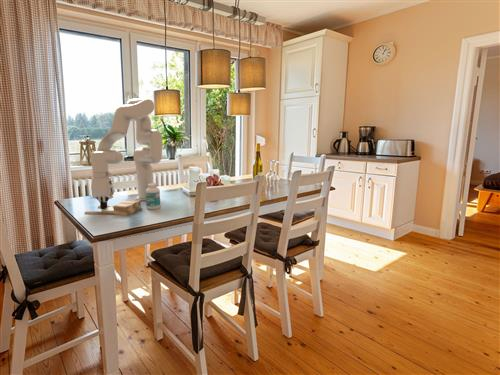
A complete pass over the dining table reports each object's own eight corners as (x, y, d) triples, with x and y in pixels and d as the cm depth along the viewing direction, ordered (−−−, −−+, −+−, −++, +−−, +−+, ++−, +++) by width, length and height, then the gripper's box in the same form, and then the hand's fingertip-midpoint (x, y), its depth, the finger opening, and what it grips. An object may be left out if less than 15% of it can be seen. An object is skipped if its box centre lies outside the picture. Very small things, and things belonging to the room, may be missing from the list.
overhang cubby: (100, 207, 172) (99, 199, 171) (141, 208, 170) (140, 200, 169) (84, 214, 158) (83, 205, 157) (128, 215, 156) (128, 206, 155)
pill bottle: (143, 209, 167) (141, 184, 165) (152, 205, 174) (151, 182, 171) (154, 210, 165) (153, 185, 162) (163, 207, 171) (162, 183, 169)
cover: (110, 209, 168) (110, 206, 168) (137, 210, 167) (136, 206, 167) (101, 214, 160) (101, 210, 159) (129, 215, 158) (128, 211, 158)
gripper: (118, 174, 163) (121, 207, 167) (91, 173, 165) (95, 206, 169) (110, 176, 156) (113, 211, 160) (82, 176, 158) (86, 210, 161)
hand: (104, 209), depth 164 cm, fingers closed
